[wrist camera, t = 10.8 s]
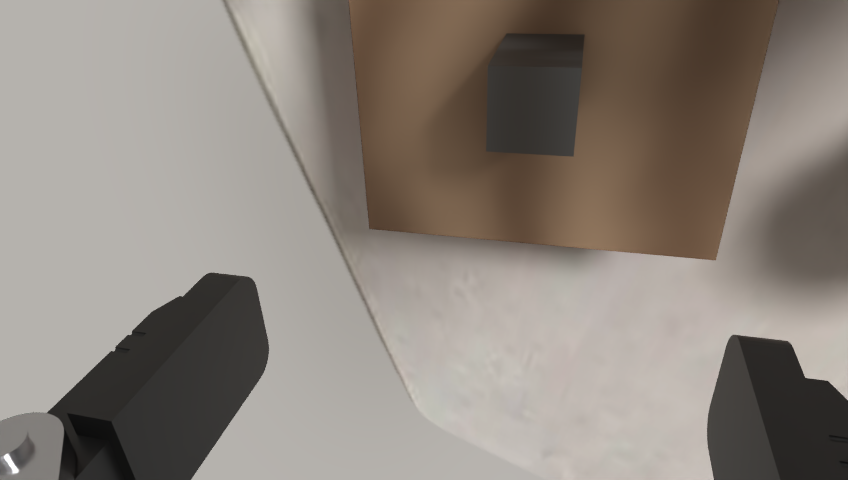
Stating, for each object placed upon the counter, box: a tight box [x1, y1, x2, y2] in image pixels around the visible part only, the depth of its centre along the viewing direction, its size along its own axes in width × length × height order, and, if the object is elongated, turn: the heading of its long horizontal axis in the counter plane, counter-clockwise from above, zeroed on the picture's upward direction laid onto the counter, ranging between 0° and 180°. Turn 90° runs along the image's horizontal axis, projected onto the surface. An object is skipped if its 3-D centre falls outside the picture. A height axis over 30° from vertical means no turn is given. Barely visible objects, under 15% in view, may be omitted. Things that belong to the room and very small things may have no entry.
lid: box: [349, 0, 779, 260], centre depth 23 cm, size 16×16×6 cm
